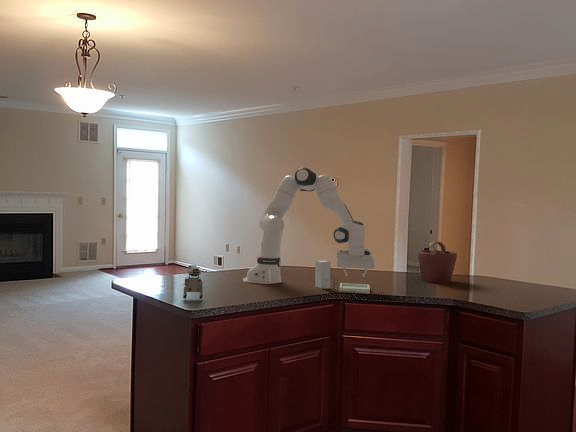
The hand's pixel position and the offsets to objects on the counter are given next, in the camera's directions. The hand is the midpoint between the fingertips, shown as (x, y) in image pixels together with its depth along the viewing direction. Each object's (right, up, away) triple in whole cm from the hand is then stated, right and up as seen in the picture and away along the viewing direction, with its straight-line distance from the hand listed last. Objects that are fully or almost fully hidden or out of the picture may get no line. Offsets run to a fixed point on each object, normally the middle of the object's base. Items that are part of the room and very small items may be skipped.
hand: (355, 276), depth 288 cm
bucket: (+54, -8, +39) cm, 67 cm away
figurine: (-82, -7, -33) cm, 89 cm away
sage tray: (0, -8, 0) cm, 8 cm away
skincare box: (-18, -7, +5) cm, 20 cm away
